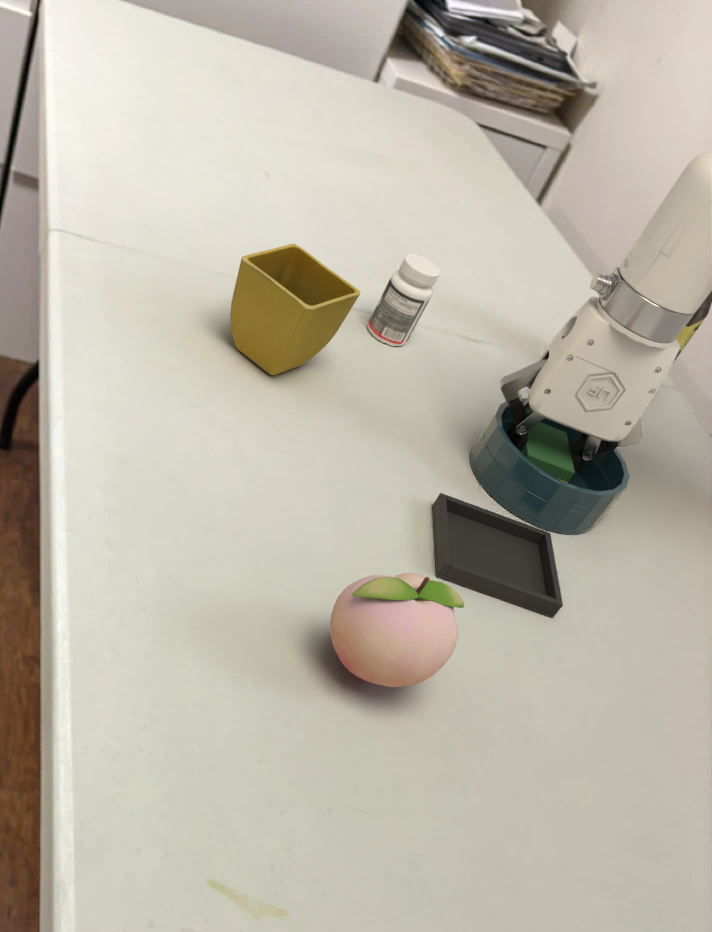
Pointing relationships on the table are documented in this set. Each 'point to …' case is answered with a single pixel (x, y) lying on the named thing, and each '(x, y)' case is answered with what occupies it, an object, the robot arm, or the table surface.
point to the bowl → (546, 480)
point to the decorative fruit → (395, 628)
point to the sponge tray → (495, 555)
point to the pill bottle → (403, 300)
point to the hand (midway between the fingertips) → (528, 470)
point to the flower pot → (287, 307)
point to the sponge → (549, 451)
